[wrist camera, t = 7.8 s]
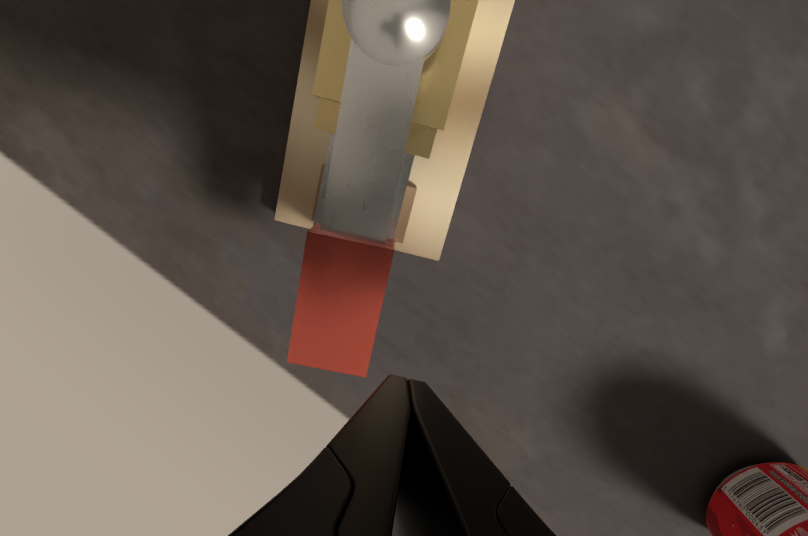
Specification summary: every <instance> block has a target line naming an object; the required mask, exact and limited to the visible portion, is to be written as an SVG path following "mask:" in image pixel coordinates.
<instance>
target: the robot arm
mask: <svg viewBox="0 0 808 536" xmlns="http://www.w3.org/2000/svg"><path fill="white" fill-rule="evenodd" d="M228 536H556V535H555V534H554V533H553V532H552V531H551V530H550V528H549V527H548V526H547V525H546V524H545V523H544V522H543V521H542V520H541V519H540V517H539V516H538V515H537V514H536V513H535V512H534V511H533V509H532V508H531V507H530V506H529V505H528V504H527V503H526V501H525V500H524V499H523V498H522V497H521V495H520V494H519V493H518V492H517V491H516V490H515V488H514V487H513V486H510V483H509V481H508V480H507V479H506V478H505V477H504V475H503V474H502V473H501V472H500V471H499V469H498V468H497V467H496V466H495V465H494V463H493V462H492V461H491V460H490V459H489V457H488V456H487V455H486V454H485V453H484V452H483V450H482V449H481V448H480V447H479V446H478V444H477V443H476V442H475V441H474V440H473V438H472V437H471V436H470V435H469V434H468V432H467V431H466V430H465V429H464V428H463V426H462V425H461V424H460V423H459V422H458V420H457V419H456V418H455V417H454V416H453V415H452V413H451V412H450V411H449V410H448V409H447V407H446V406H445V405H444V404H443V403H442V401H441V400H440V399H439V398H438V397H437V395H436V394H435V393H434V392H433V391H432V389H431V388H430V387H429V386H428V385H427V384H426V383H425V382H422V381H417V380H413V379H409V380H408V381H407V379H406V378H404V377H400V376H395V375H389V376H388V377H387V378H386V379H385V380H384V381H383V382H382V383H381V385H380V386H379V387H378V388H377V389H376V390H375V391H374V393H373V394H372V395H371V396H370V397H369V398H368V399H367V401H366V402H365V403H364V404H363V405H362V406H361V407H360V408H359V410H358V411H357V412H356V413H355V414H354V415H353V416H352V418H351V419H350V420H349V421H348V422H347V423H346V424H345V425H344V427H343V428H342V429H341V430H340V431H339V432H338V433H337V435H336V436H335V437H334V438H333V439H332V440H331V441H330V443H329V444H328V445H327V446H326V448H324V449H323V450H322V451H321V453H320V454H319V455H318V456H317V457H316V458H315V459H314V460H313V461H312V463H310V464H309V466H307V467H306V469H305V470H304V471H303V472H302V473H301V474H300V475H299V476H298V477H297V478H296V479H294V480H293V481H292V482H291V483H290V484H289V485H288V486H286V487H285V488H284V489H283V490H282V491H281V492H280V493H279V494H277V495H276V496H275V497H274V498H272V499H271V500H270V501H269V502H268V503H267V504H265V505H264V506H263V507H262V508H260V509H259V510H258V511H257V512H256V513H254V514H253V515H252V516H251V517H250V518H249V519H247V520H246V521H245V522H244V523H243V524H241V525H240V526H239V527H238V528H236V529H235V530H234V531H233V532H232V533H230V534H229V535H228Z"/></svg>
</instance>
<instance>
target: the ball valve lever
mask: <svg viewBox="0 0 808 536" xmlns="http://www.w3.org/2000/svg"><path fill="white" fill-rule="evenodd" d="M450 3H451V1H450V0H342V13H343V18H344V22H345V25H346V28H347V30H348V32H349V34H350V37H351V42H350V48H349V54H348V60H347V67H346V73H345V79H344V85H343V91H342V97H341V103H340V109H339V115H338V122H337V128H336V134H335V140H334V146H333V152H332V158H331V164H330V170H329V177H328V183H327V189H326V195H325V201H324V207H323V213H322V219H321V224H320V223H316V224H315V225H314V226H313V227H312V228H311V229H310V230H308V231H307V237H306V243H305V249H304V256H303V262H302V269H301V275H300V282H299V288H298V295H297V301H296V308H295V314H294V321H293V327H292V333H291V340H290V346H289V353H288V359H287V362H288V363H294V364H299V365H304V366H309V367H314V368H319V369H325V370H330V371H335V372H340V373H345V374H351V375H356V376H361V377H366V375H367V371H368V366H369V362H370V357H371V353H372V348H373V344H374V339H375V335H376V330H377V325H378V321H379V316H380V312H381V307H382V303H383V298H384V294H385V289H386V285H387V280H388V276H389V271H390V266H391V262H392V257H393V253H394V246H395V240H394V239H389V238H386V237H387V232H388V228H389V223H390V218H391V214H392V209H393V204H394V199H395V195H396V190H397V185H398V181H399V176H400V171H401V167H402V162H403V157H404V152H405V148H406V143H407V138H408V134H409V129H410V124H411V119H412V115H413V110H414V105H415V101H416V96H417V91H418V87H419V82H420V77H421V72H422V68H423V63H424V62H425V61H426V60H427V59H428V58H429V57H430V56H431V55H432V54H433V53H434V52H435V50H436V49H437V47H438V46H439V44H440V42H441V40H442V37H443V35H444V32H445V29H446V26H447V23H448V19H449V14H450Z"/></svg>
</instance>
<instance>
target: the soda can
mask: <svg viewBox="0 0 808 536" xmlns="http://www.w3.org/2000/svg"><path fill="white" fill-rule="evenodd" d="M706 523H707V526H708V529H709V531H710V533H711V534H712V536H808V470H807V469H805V468H803V467H801V466H798V465H795V464H792V463H785V462H770V463H762V464H758V465H752V466H747V467H744V468H741V469H739V470H737V471H735V472H733V473H732V474H730V475H729V476H727V477H726V478H725V479H724V480H723V481H722V482H721V483H720V484H719V485H718V487H717V488H716V490H715V492H714V494H713V495H712V497H711V499H710V501H709V504H708V507H707V511H706Z"/></svg>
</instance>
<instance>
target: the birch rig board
mask: <svg viewBox="0 0 808 536" xmlns="http://www.w3.org/2000/svg"><path fill="white" fill-rule="evenodd" d="M328 2H329V0H311V3H310V9H309V15H308V21H307V27H306V33H305V39H304V45H303V51H302V57H301V63H300V69H299V75H298V81H297V87H296V93H295V99H294V105H293V111H292V117H291V123H290V129H289V135H288V141H287V147H286V153H285V159H284V165H283V171H282V177H281V183H280V189H279V195H278V201H277V207H276V213H275V219H274V220H276V221H280V222H284V223H288V224H292V225H297V226H301V227H305V228H309V229H311V228H312V227H313V223H314V218H315V213H316V208H317V202H318V197H319V192H320V187H321V182H322V177H323V172H324V166H325V161H326V156H327V151H328V146H329V141H330V136H331V133H330V132H326V131H323V130H319V129H315V128H314V124H315V119H316V113H317V108H318V102H319V98H317V97H316V96H314V95H312V92H313V86H314V81H315V75H316V70H317V64H318V58H319V53H320V47H321V41H322V36H323V30H324V24H325V19H326V13H327V7H328ZM514 2H515V0H479V1H478V5H477V8H476V12H475V16H474V19H473V23H472V27H471V31H470V34H469V38H468V42H467V45H466V49H465V53H464V56H463V60H462V64H461V68H460V71H459V75H458V79H457V82H456V86H455V90H454V94H453V97H452V101H451V105H450V108H449V112H448V116H447V120H446V123H445V127H444V130H443V131H441V132H439V133H437V134H436V136H435V139H434V143H433V147H432V151H431V155H430V158H429V159H427V158H424V157H420V156H416V155H415V156H414V160H413V164H412V168H411V172H410V176H409V180H408V183H407V187H406V191H405V195H404V199H403V203H402V207H401V211H400V215H399V219H398V223H397V227H396V231H395V235H394V240H395V246H394V250H397V251H401V252H405V253H409V254H413V255H417V256H421V257H425V258H429V259H433V260H437V261H439V259H440V255H441V252H442V248H443V245H444V241H445V238H446V235H447V231H448V228H449V224H450V221H451V217H452V214H453V211H454V207H455V204H456V200H457V197H458V193H459V190H460V187H461V183H462V180H463V176H464V173H465V169H466V166H467V163H468V159H469V156H470V152H471V149H472V145H473V142H474V139H475V135H476V132H477V128H478V125H479V121H480V118H481V115H482V111H483V108H484V104H485V101H486V97H487V94H488V91H489V87H490V84H491V80H492V77H493V74H494V70H495V67H496V63H497V60H498V56H499V53H500V50H501V46H502V43H503V39H504V36H505V32H506V29H507V26H508V22H509V19H510V15H511V12H512V8H513V5H514Z"/></svg>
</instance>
